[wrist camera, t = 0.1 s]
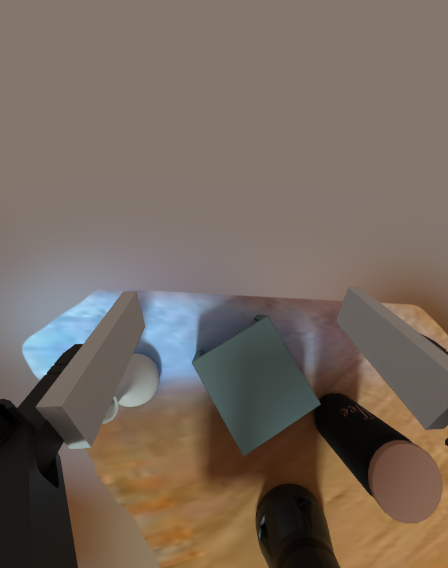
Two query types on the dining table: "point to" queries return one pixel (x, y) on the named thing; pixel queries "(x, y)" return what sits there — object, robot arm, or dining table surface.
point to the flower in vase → (135, 385)
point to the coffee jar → (381, 459)
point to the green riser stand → (255, 384)
